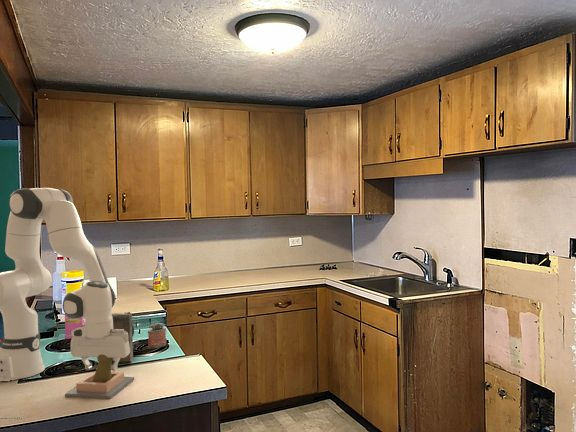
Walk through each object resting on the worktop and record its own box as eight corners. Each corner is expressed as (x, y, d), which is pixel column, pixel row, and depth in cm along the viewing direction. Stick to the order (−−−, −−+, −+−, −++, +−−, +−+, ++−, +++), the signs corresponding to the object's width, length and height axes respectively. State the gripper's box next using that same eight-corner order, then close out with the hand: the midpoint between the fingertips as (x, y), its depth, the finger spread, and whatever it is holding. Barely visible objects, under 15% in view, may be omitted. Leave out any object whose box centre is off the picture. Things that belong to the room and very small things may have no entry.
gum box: (78, 325, 241) (76, 299, 241) (94, 324, 243) (93, 298, 242) (65, 339, 218) (63, 310, 217) (83, 338, 219) (82, 309, 219)
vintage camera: (142, 352, 198) (140, 305, 198) (131, 363, 182) (129, 312, 182) (119, 353, 198) (117, 306, 198) (106, 364, 182) (104, 313, 182)
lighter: (164, 343, 207) (163, 321, 207) (167, 345, 205) (167, 322, 204) (147, 347, 202) (146, 324, 202) (150, 349, 200) (149, 326, 199)
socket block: (65, 396, 153) (64, 386, 153) (93, 377, 168) (93, 368, 168) (110, 399, 150) (109, 388, 150) (134, 379, 166) (134, 370, 166)
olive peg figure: (114, 384, 160) (119, 353, 159) (99, 389, 155) (104, 357, 154) (103, 377, 163) (108, 347, 162) (88, 382, 158) (93, 351, 157)
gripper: (132, 327, 160) (134, 366, 160) (78, 326, 163) (80, 365, 164) (123, 332, 154) (125, 373, 154) (66, 331, 157) (68, 372, 157)
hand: (101, 369), depth 159 cm, fingers open, 8 cm apart
